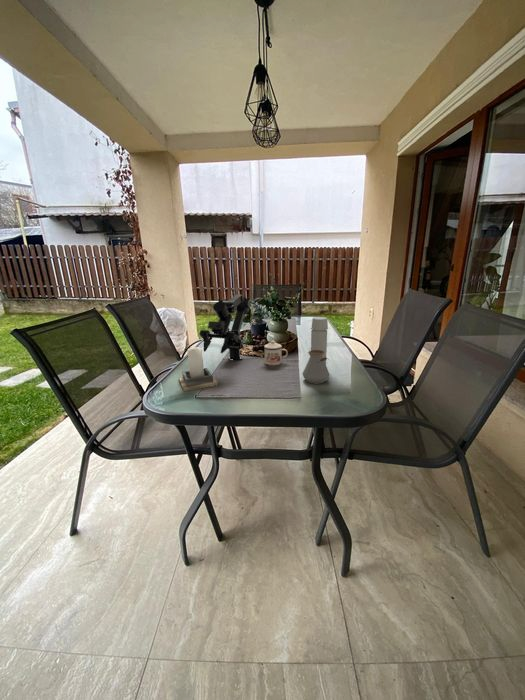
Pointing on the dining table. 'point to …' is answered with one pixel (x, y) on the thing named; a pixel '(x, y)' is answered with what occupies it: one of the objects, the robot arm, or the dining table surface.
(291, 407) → the dining table surface
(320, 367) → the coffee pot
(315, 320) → the water bottle
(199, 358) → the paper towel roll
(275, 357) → the teacup with lid
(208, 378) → the roll holder
